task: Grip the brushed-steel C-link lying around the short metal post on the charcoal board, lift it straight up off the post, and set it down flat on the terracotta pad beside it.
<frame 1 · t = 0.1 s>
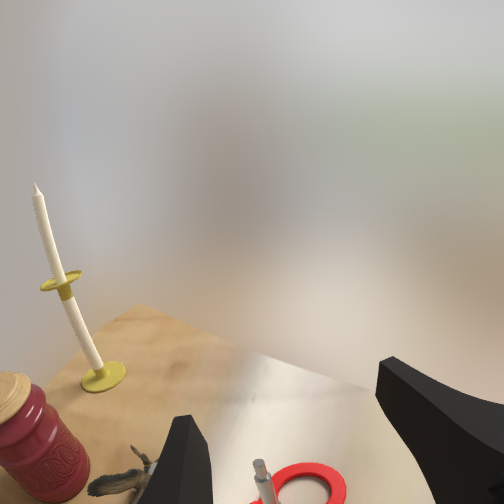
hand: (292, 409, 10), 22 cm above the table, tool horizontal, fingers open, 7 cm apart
eagle figurine: (146, 499, 22), on the table
tow hook: (302, 499, 21), on the table
canister: (57, 472, 24), on the table
candle: (103, 377, 47), on the table
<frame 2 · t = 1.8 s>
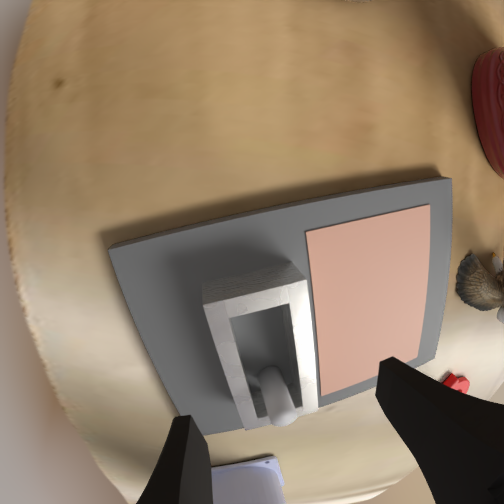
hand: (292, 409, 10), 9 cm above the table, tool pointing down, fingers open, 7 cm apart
post board: (318, 319, 19), on the table
eagle figurine: (482, 271, 21), on the table
c link: (262, 344, 18), point 1 cm above the table, touching post board
tow hook: (440, 399, 27), on the table
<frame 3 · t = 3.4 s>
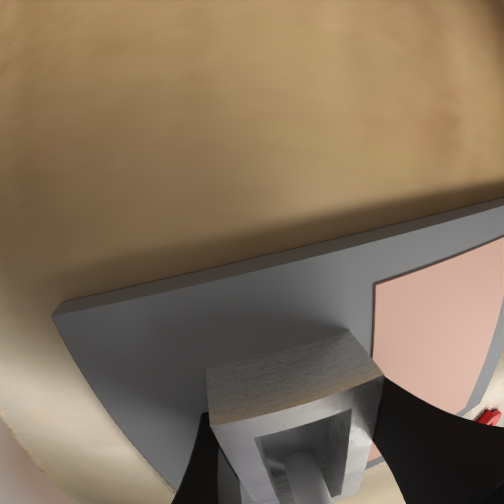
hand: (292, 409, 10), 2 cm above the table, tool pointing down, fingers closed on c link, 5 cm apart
post board: (366, 389, 12), on the table
c link: (293, 432, 11), point 1 cm above the table, touching gripper, post board
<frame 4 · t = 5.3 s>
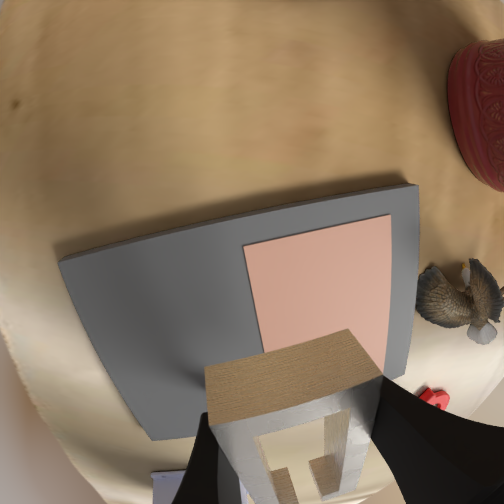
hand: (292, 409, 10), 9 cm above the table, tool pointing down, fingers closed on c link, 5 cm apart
post board: (267, 334, 19), on the table
eagle figurine: (450, 284, 21), on the table
c link: (292, 428, 11), point 8 cm above the table, touching gripper
tow hook: (417, 413, 27), on the table
canister: (487, 115, 17), on the table
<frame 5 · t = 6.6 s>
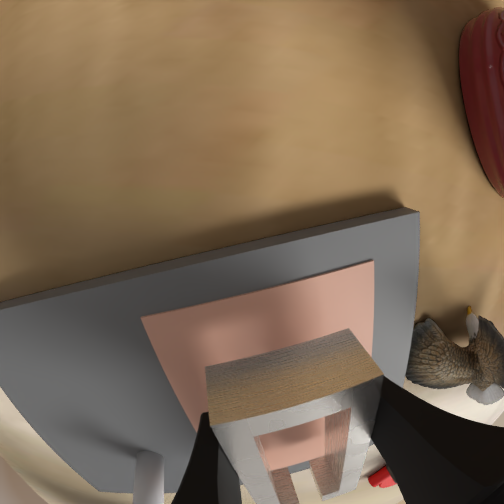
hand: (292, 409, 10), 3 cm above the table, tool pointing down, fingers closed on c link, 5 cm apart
post board: (202, 409, 13), on the table
eagle figurine: (449, 333, 15), on the table
c link: (292, 428, 11), point 3 cm above the table, touching gripper
tow hook: (408, 458, 22), on the table
when the fingers open (3 cm above the table, at t = 7.6 s): c link drops 1 cm, resting on post board.
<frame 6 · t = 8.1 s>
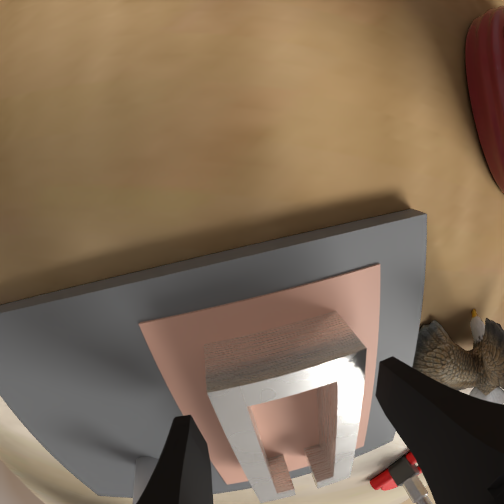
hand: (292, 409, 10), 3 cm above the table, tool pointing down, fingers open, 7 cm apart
post board: (202, 415, 13), on the table
eagle figurine: (454, 336, 15), on the table
c link: (286, 411, 12), point 1 cm above the table, touching post board
tow hook: (410, 461, 21), on the table
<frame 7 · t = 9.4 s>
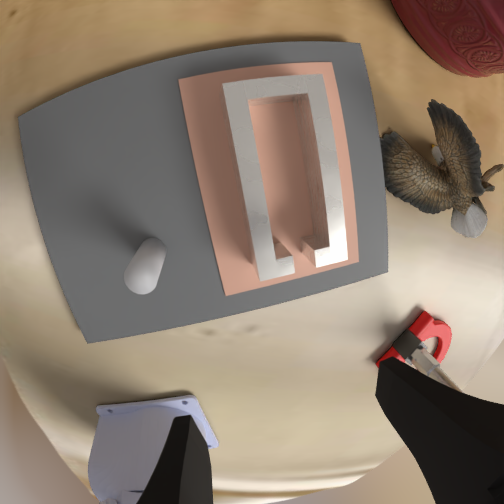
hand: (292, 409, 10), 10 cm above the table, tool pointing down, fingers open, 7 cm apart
post board: (209, 187, 17), on the table
eagle figurine: (421, 167, 19), on the table
c link: (279, 172, 16), point 1 cm above the table, touching post board
tow hook: (415, 351, 25), on the table
canister: (439, 14, 15), on the table
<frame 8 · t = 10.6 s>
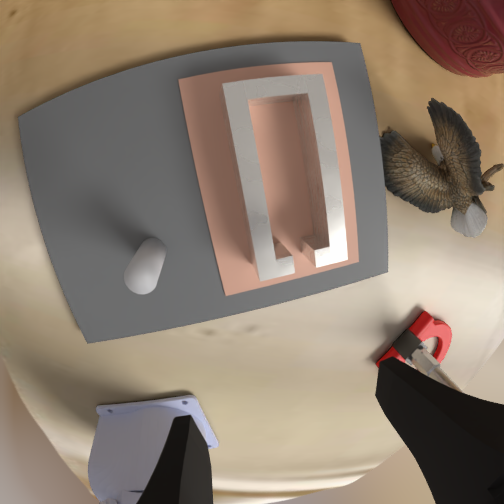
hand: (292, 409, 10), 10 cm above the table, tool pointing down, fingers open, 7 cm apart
post board: (209, 187, 17), on the table
eagle figurine: (421, 166, 19), on the table
c link: (279, 172, 16), point 1 cm above the table, touching post board
tow hook: (415, 351, 25), on the table
canister: (439, 14, 15), on the table
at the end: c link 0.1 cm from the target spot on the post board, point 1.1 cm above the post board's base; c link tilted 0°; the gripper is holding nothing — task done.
